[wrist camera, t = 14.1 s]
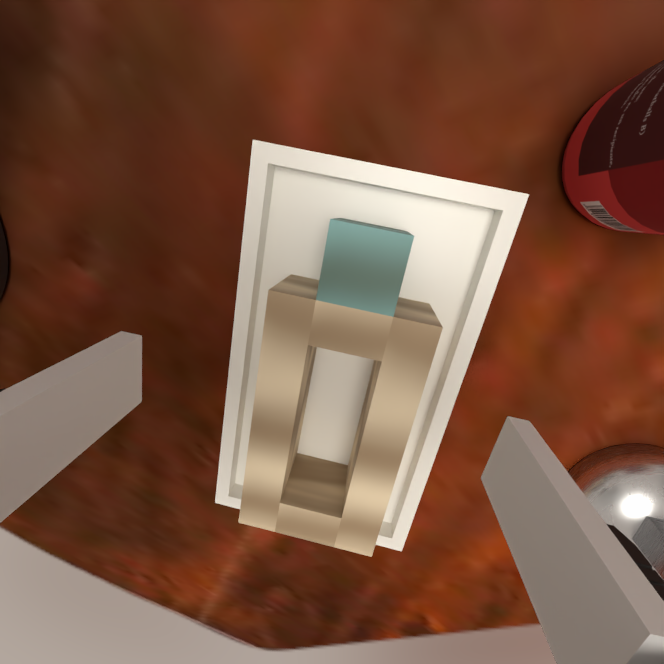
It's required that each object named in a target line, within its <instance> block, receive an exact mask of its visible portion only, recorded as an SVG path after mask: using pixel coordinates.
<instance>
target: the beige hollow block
mask: <svg viewBox="0 0 664 664" xmlns="http://www.w3.org/2000/svg"><path fill="white" fill-rule="evenodd" d="M413 239H414V235H412V234H411V233H409V232H407V231H405V230H400V229H395V228H390V227H385V226H380V225H375V224H370V223H365V222H360V221H355V220H350V219H345V218H334V219H330V223H329V229H328V234H327V240H326V246H325V251H324V257H323V262H322V268H321V274H320V279H319V280H317V279H312V278H307V277H302V276H298V275H293V274H291V275H289V276H288V277H286V278H285V279H283V280H282V281H281V282H279V283H278V284H276V285H275V286H273V287H272V288H270V289H269V290H268V297H267V304H266V312H265V320H264V328H263V335H262V343H261V351H260V359H259V367H258V374H257V382H256V390H255V398H254V405H253V413H252V421H251V429H250V436H249V444H248V452H247V460H246V467H245V475H244V483H243V491H242V499H241V506H240V514H239V523H243V524H246V525H250V526H254V527H258V528H262V529H266V530H270V531H274V532H277V533H281V534H285V535H289V536H293V537H297V538H301V539H305V540H308V541H312V542H316V543H320V544H324V545H328V546H332V547H336V548H339V549H343V550H347V551H351V552H355V553H359V554H363V555H367V556H370V557H372V554H373V551H374V547H375V544H376V541H377V538H378V535H379V531H380V528H381V525H382V522H383V519H384V515H385V512H386V509H387V506H388V502H389V499H390V496H391V493H392V490H393V486H394V483H395V480H396V477H397V474H398V470H399V467H400V464H401V461H402V457H403V454H404V451H405V448H406V445H407V441H408V438H409V435H410V432H411V429H412V425H413V422H414V419H415V416H416V413H417V409H418V406H419V403H420V400H421V396H422V393H423V390H424V387H425V384H426V380H427V377H428V374H429V371H430V368H431V364H432V361H433V358H434V355H435V352H436V348H437V345H438V342H439V339H440V335H441V332H442V329H443V327H442V325H441V323H440V321H439V320H438V318H437V316H436V314H435V312H434V311H433V309H432V307H431V305H430V304H429V303H425V302H420V301H415V300H411V299H406V298H401V297H399V293H400V289H401V286H402V282H403V278H404V274H405V270H406V266H407V262H408V258H409V255H410V251H411V247H412V243H413ZM317 347H319V348H323V349H328V350H332V351H337V352H341V353H346V354H350V355H355V356H359V357H364V358H368V359H372V360H374V363H373V367H372V371H371V375H370V379H369V383H368V387H367V391H366V395H365V399H364V403H363V407H362V411H361V415H360V419H359V423H358V427H357V431H356V435H355V439H354V443H353V447H352V451H351V455H350V459H349V463H348V465H345V464H341V463H337V462H333V461H329V460H325V459H320V458H316V457H312V456H308V455H304V454H300V453H297V451H298V446H299V440H300V435H301V430H302V424H303V419H304V414H305V408H306V403H307V398H308V392H309V387H310V381H311V376H312V371H313V365H314V360H315V355H316V349H317Z"/></svg>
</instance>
